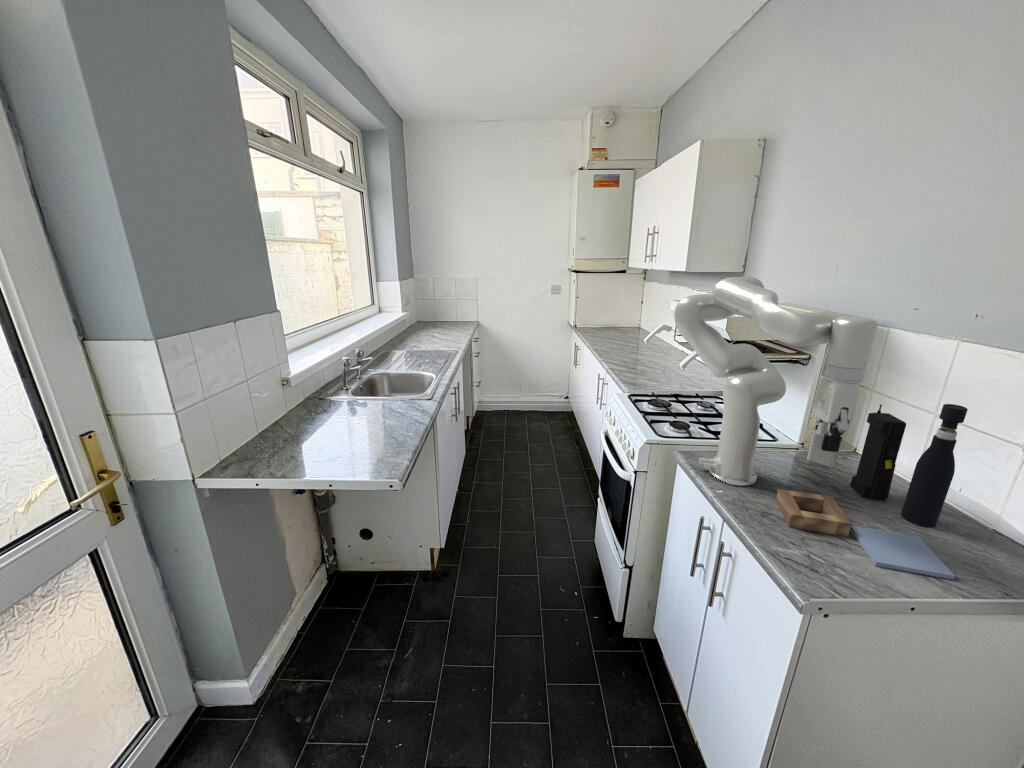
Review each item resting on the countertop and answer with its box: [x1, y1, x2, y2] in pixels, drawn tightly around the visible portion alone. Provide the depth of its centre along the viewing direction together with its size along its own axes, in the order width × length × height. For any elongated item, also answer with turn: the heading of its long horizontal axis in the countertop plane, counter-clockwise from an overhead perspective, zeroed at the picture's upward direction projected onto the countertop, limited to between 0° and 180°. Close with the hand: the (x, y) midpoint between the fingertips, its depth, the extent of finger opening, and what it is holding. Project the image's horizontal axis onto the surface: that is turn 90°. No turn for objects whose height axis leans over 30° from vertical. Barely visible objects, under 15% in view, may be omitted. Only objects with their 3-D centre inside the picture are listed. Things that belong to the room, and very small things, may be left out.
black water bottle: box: [900, 403, 969, 528], centre depth 97 cm, size 6×6×30 cm
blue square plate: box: [849, 525, 956, 581], centre depth 91 cm, size 13×13×1 cm
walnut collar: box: [775, 488, 852, 538], centre depth 103 cm, size 12×12×4 cm
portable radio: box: [849, 404, 907, 501], centre depth 109 cm, size 8×6×25 cm
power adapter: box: [806, 420, 844, 468], centre depth 97 cm, size 3×5×12 cm, turn 42°
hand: (825, 444), depth 98 cm, fingers closed on power adapter, 4 cm apart
